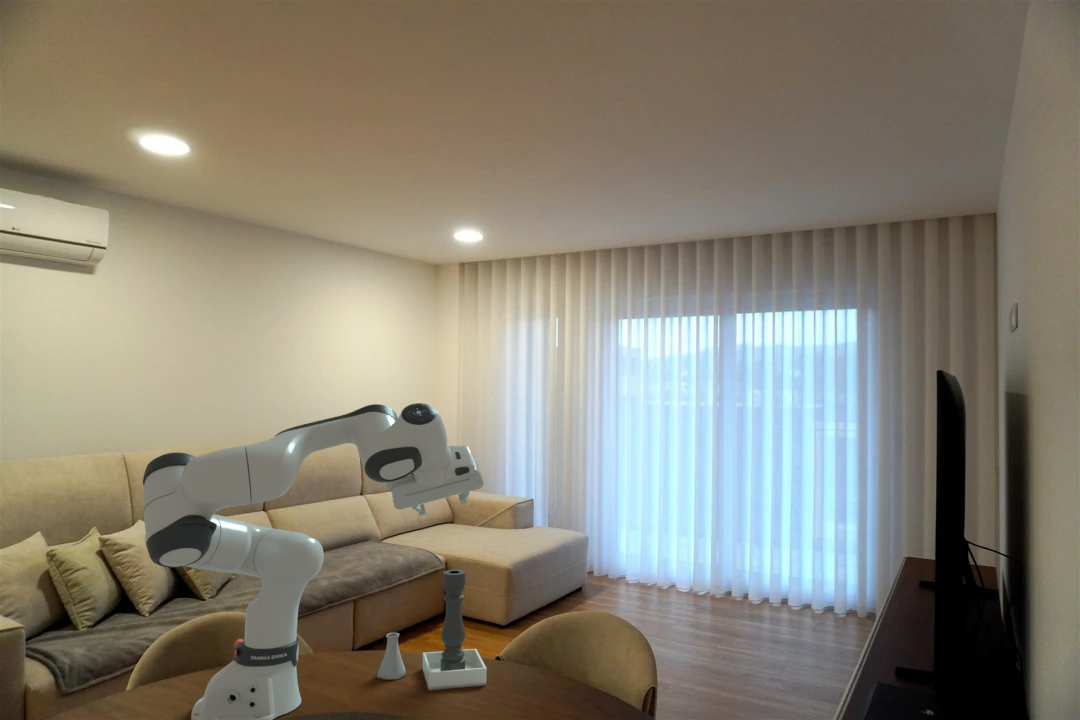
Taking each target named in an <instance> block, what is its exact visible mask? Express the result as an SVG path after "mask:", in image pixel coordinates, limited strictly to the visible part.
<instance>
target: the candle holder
mask: <svg viewBox="0 0 1080 720" xmlns="http://www.w3.org/2000/svg"><path fill="white" fill-rule="evenodd" d="M442 573H443V574H442V586H443V589H444V591H445V595H444V596H443V601H445V617H444V621H443V625H442V629H441V635H440V636H441V637H440V638H441V641H442V642H443V644H444V649H443V652H442V657H443V658H442V659H441V669H440V671H449V670H462V669H465V658H464V657H463V656H464V651H462V650H463V649H462V646H463V643H464V641H465V639H466V631H465V626H464V625H465V624H464V621H463V615H462V602H463V600H464V599H465V595H464V594H462V593H463V592H464V589H465V586H466V571H465V570H462V569H447V570H445V571H442Z"/></svg>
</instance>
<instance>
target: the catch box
mask: <svg viewBox="0 0 1080 720" xmlns="http://www.w3.org/2000/svg"><path fill="white" fill-rule="evenodd" d="M443 651H444V650H443ZM443 651H442V650H441V651H427V652H422V669H421V670H422V672H423V676H424V679H425V682H426V686H427V690H428V691H435V690H446V689H447V690H448V689H456V688H468V687H469V688H471V687H480V686H487V671H488V668H487V666H486V664H485V663H484V661H483V659H482V657H481V655H480V653H479V652H478V649H477V648H470V649H462V651H464V656H463V657H464V658H465V669H462V670H449V671H440V669H441V659H442V658H443V657H442V652H443Z"/></svg>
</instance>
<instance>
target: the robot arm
mask: <svg viewBox="0 0 1080 720" xmlns="http://www.w3.org/2000/svg"><path fill="white" fill-rule="evenodd" d="M345 444H352V445H355V446H356V449H357V452H358V455H359V459H360V462H361V464H362V466H363V467H362V468H363V470H364V472H365V475H366V476H367V477H368V479H370V480H372V481H375V482H378V483H385V484H386V488H387V490H388V491H389V492H391V495H392V501H393V502H392V503H393V506H394V508H395V509H396V510H400V511H401V510H404V509H408V508H412V510H414V511H416V512H418V515H419V516H424V515H427V513H426V508H425V505H424V504H427V503H430V502H434V501H439V500H442V499H445V498H450V497H453V496H457V495H458V500H459V504H460V505H465V504H467V499H468V497H469V495H470V492H471V491H472V492H473V491H475V490H480V489H482V488H483V486H484V484H485V482H484V478H483V475H482V472H481V469H480V466H479V464H478V462H477V459H476V458H475V457H474V456H473V454H472V452H471V448H469V446H467V445H455V446H454V445H448V436H447V431H446V427H445V424H444V421H443V419H442V417H441V415H440V413H439V411H437V409H436V408H435V407H433V406H432V405H430V404H427V403H422V402H418V403H415V402H414V403H412V404H409V405H407V406H405V407H404V408H403V409H402V410H401V412H400V413H399V416H397V413H396V412H395V411H394V409H392V408H391V407H389V406H388V405H384V404H378V403H375V404H367V405H365V406H362V407H361V408H357V409H356V410H353V411H352V412H348V413H345V414H342V415H341V414H340V415H337V416H334V417H329V418H324V419H321V420H316V421H313V422H308V423H303V424H299V425H296V426H293V427H290V428H289V427H288V428H286V429H284V430H281V431H279V432H278V433H277V434H275V435H274V436H273V437H271V438H269V439H267V440H264V441H261V442H257V443H253V444H247V445H239V446H234V447H229V448H225V449H220V450H216V451H211V452H209V453H204V454H202V455H198V456H194V455H192V454H191V453H190V454H189V453H187V452H180V451H179V452H169V453H165V454H161V455H159V456H158V457H156V458H153V459H152V460H151V461H150V462H148V464H147V465H146V467H145V470H144V473H143V474H144V475H143V477H142V485H143V493H142V494H143V495H142V515H143V522H144V530H145V535H144V536H145V537H144V540H145V541H144V542H145V546H146V550H147V553H148V556H149V558H150V559H151V561H152V562H153V563H154V564H155V565H157V566H160V567H162V568H163V567H164V568H168V569H169V568H173V569H174V568H182V567H189V568H194V569H199V570H206V571H212V572H218V573H227V574H237V575H243V576H244V575H245V576H251V577H255V578H260V579H262V584H261V589H260V591H259V594H258V596H257V597H256V598H255V599H253V600H252V601H250V602H249V604H248V605H247V607H246V608H245V617H244V618H245V622H244V637H243V638H244V639H243V638H237V640H236V641H235V642H234V645H233V648H234V649H233V660H232V661H231V662H230V663H228V664H227V665H226V666H224V667H223V668H221V670H219V671H218V672H217V673H215V674H214V675H213V676H212V677H211V678H210V679H209V681H208V683H207V684H206V687H205V691H204V694H203V696H202V697H201V698H200V699H198V700H197V701H196V702H195V704H194V705H193V707H192V709H191V715H190V720H274V719H275V718H278V717H280V716H282V715H286V714H288V713H291V712H292V711H294V710H296V709H297V708H298V707H299V706H300V705H301V703H302V697H301V693H300V689H299V683H298V682H299V681H298V673H297V671H298V670H297V665H298V661H299V651H300V650H299V648H300V646H299V645H300V644H299V638H298V636H297V631H298V620H299V619H298V617H299V616H298V615H299V607H300V601H301V598H302V595H303V593H304V591H305V589H306V587H307V585H308V583H309V582H310V581H312V580H314V578H315V577H316V576H317V575H318V574H319V573H320V570H321V569H322V567H323V565H324V564H323V563H324V561H325V554H324V549H323V545H322V544H321V542H320V541H319V540H317V539H316V538H313V537H312V536H309V535H308V534H305V533H303V532H300V531H299V532H298V531H293V530H292V531H291V530H286V529H280V528H273V527H267V526H262V525H257V524H254V523H250V522H247V521H244V520H241V519H237V518H232V517H229V516H228V517H227V516H224V515H219V514H215V513H217V512H218V511H220V510H222V509H225V508H230V507H232V508H233V507H241V506H248V505H255V504H261V503H266V502H270V501H273V500H276V499H278V498H281V497H283V496H284V495H286V493H287V492H288V491H290V489H291V488H292V487H293V485H294V484H295V483H296V481H297V478H298V476H299V471H300V470H301V466H302V463H303V462H304V460H305V459H306V458H307V457H308V456H309V455H311V454H313V453H314V452H318V451H322V450H326V449H329V448H330V449H331V448H334V447H338V446H342V445H345Z"/></svg>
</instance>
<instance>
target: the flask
mask: <svg viewBox="0 0 1080 720" xmlns="http://www.w3.org/2000/svg"><path fill="white" fill-rule="evenodd" d="M399 637H400V633H398V632H390V633H387V634H386V639H387V641H386V649H385V652H384V656H383V658H382V661H381V664H380V666H379V668H378V671H377V675H376V678H378V679H381V680H399V679H400V678H403V677H405V676H406V672H407V669H406V667H405V665H404V662H403V658H402V654H401V651H400V647H399Z"/></svg>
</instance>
